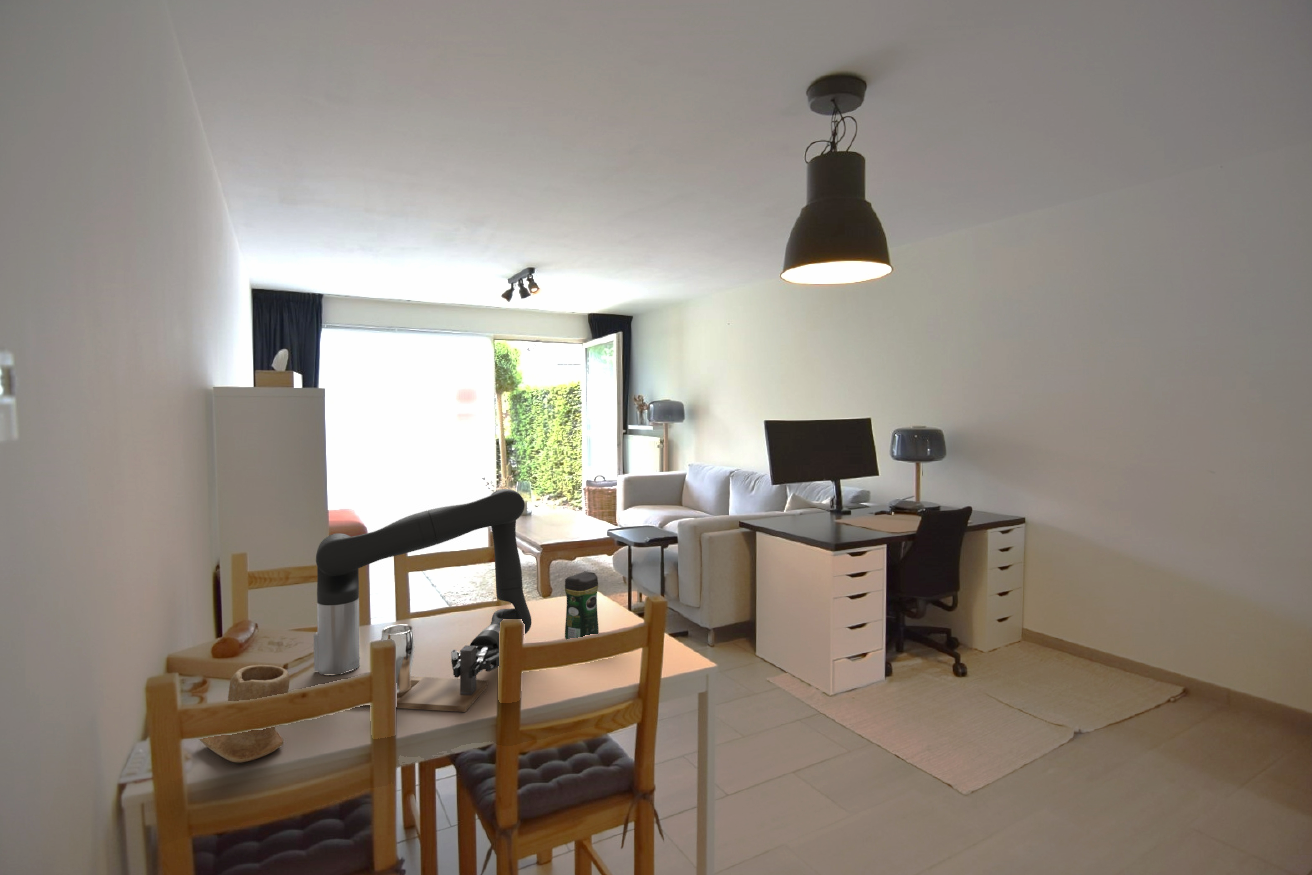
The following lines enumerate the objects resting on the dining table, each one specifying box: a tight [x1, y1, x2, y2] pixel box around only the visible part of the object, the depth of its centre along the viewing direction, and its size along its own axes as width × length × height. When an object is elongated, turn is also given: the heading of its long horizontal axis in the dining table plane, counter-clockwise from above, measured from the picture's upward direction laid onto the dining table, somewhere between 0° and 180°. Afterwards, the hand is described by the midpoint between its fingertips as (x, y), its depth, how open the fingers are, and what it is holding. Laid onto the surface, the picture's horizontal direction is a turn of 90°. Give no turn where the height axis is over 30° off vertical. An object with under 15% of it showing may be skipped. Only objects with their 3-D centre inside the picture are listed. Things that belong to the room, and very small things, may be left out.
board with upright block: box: [364, 645, 489, 713], centre depth 141 cm, size 28×13×11 cm, turn 84°
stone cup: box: [198, 664, 291, 764], centre depth 119 cm, size 15×12×15 cm
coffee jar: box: [564, 570, 600, 640], centre depth 178 cm, size 10×8×19 cm
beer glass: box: [380, 624, 415, 698], centre depth 141 cm, size 7×7×15 cm
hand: (463, 673), depth 137 cm, fingers closed on board with upright block, 2 cm apart
